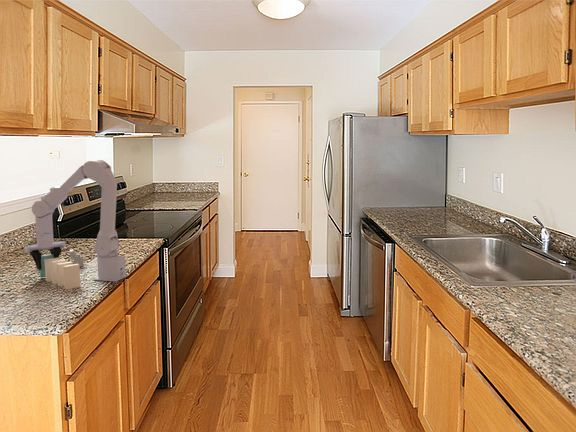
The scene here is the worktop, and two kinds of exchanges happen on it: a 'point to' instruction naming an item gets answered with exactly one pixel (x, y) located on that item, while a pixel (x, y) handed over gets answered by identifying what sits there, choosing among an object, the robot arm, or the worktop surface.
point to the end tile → (43, 257)
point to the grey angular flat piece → (76, 258)
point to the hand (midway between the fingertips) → (46, 268)
